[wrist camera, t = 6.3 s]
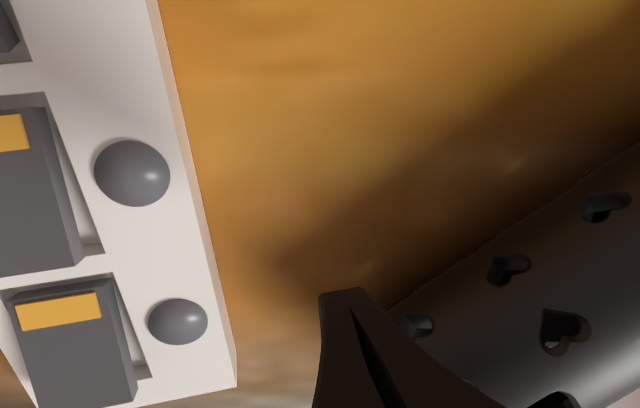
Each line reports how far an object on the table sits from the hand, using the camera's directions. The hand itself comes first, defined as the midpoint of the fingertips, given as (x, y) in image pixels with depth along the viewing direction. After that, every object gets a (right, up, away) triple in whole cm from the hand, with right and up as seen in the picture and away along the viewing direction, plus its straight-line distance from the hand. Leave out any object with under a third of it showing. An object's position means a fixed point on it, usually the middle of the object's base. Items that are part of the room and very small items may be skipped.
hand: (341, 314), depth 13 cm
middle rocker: (-12, +4, +3) cm, 13 cm away
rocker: (-12, -3, +7) cm, 14 cm away
